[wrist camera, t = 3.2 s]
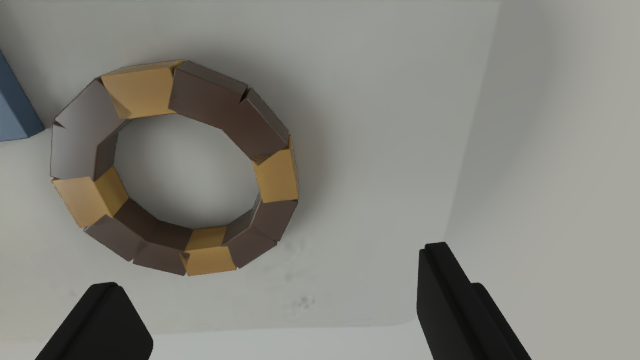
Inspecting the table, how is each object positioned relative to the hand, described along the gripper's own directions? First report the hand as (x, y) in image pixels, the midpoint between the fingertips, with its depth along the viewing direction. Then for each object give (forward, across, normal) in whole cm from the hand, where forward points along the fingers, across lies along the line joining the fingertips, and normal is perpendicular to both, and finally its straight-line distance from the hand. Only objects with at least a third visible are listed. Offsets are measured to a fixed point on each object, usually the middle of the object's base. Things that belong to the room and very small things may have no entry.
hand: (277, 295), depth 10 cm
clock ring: (+9, +6, 0) cm, 11 cm away
